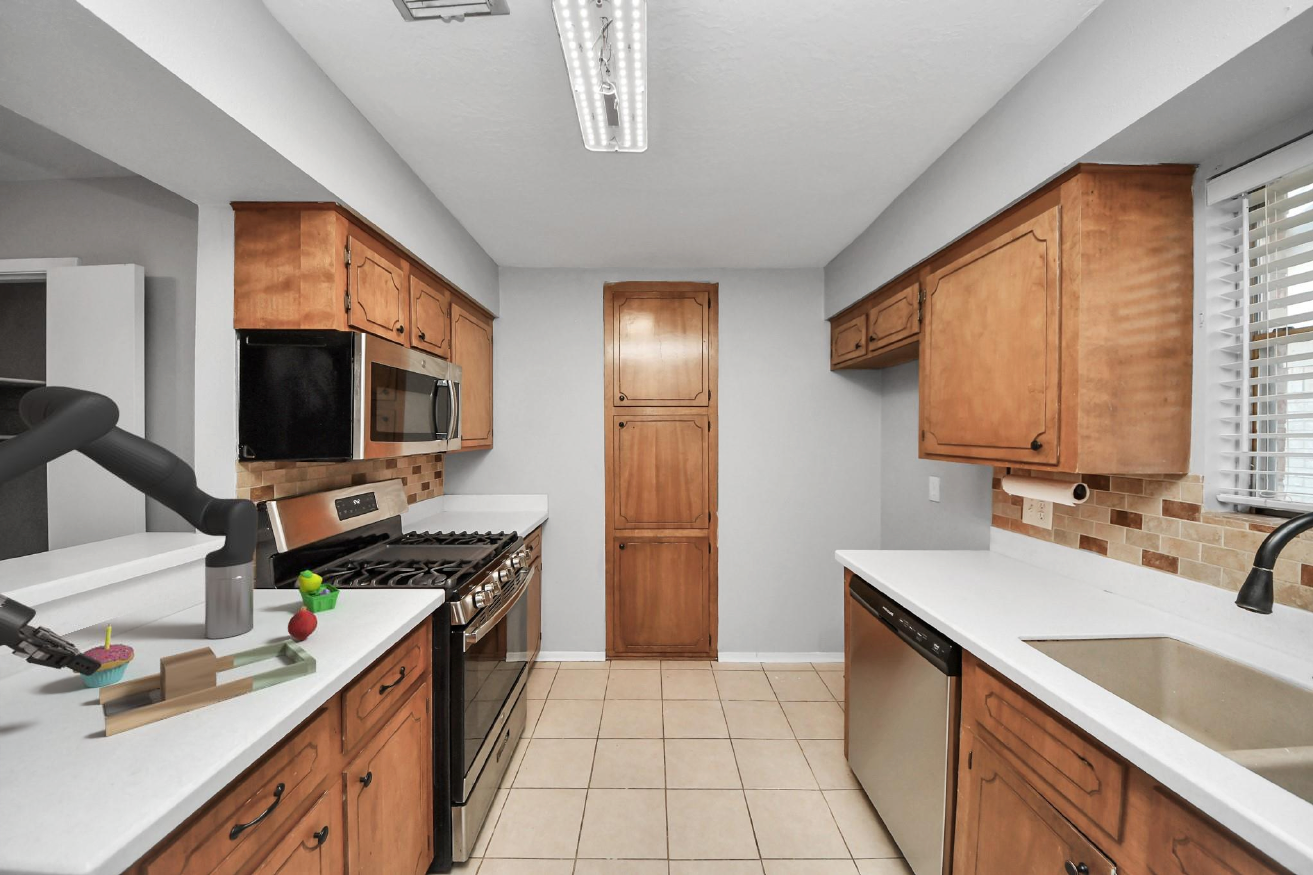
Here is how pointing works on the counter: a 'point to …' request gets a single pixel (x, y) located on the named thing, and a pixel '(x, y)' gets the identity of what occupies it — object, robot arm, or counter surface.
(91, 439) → the robot arm
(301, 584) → the fruit basket
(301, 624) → the onion
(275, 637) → the counter surface
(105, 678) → the cupcake
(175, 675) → the walnut block
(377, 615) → the counter surface
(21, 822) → the counter surface
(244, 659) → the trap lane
